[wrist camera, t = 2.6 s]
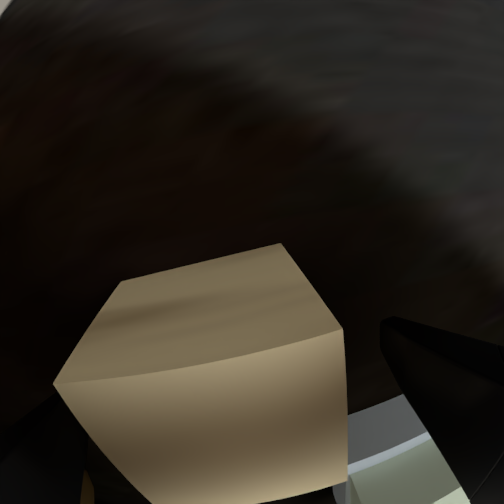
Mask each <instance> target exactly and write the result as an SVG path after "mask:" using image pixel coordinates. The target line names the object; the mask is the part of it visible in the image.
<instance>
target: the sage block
mask: <svg viewBox="0 0 504 504" xmlns="http://www.w3.org/2000/svg"><path fill="white" fill-rule="evenodd" d="M469 501H470V500H468V498H467V496H466V494H465V493H464V491H463V489H462V487H461V486H460V484H459V482H458V481H457V479H456V477H455V476H454V474H453V472H452V471H451V469H450V467H449V466H448V464H447V462H446V461H445V459H444V457H443V456H442V454H441V452H440V451H439V449H438V448H437V446H436V444H435V443H434V441H433V440H432V438H431V439H429V440H428V441H426V442H424V443H422V444H420V445H418V446H416V447H414V448H412V449H410V450H408V451H406V452H404V453H401V454H399V455H397V456H395V457H393V458H390V459H388V460H386V461H383V462H381V463H379V464H376V465H374V466H371V467H369V468H366V469H364V470H361V471H358V472H356V473H353V474H350V504H471V503H470V502H469Z"/></svg>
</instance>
